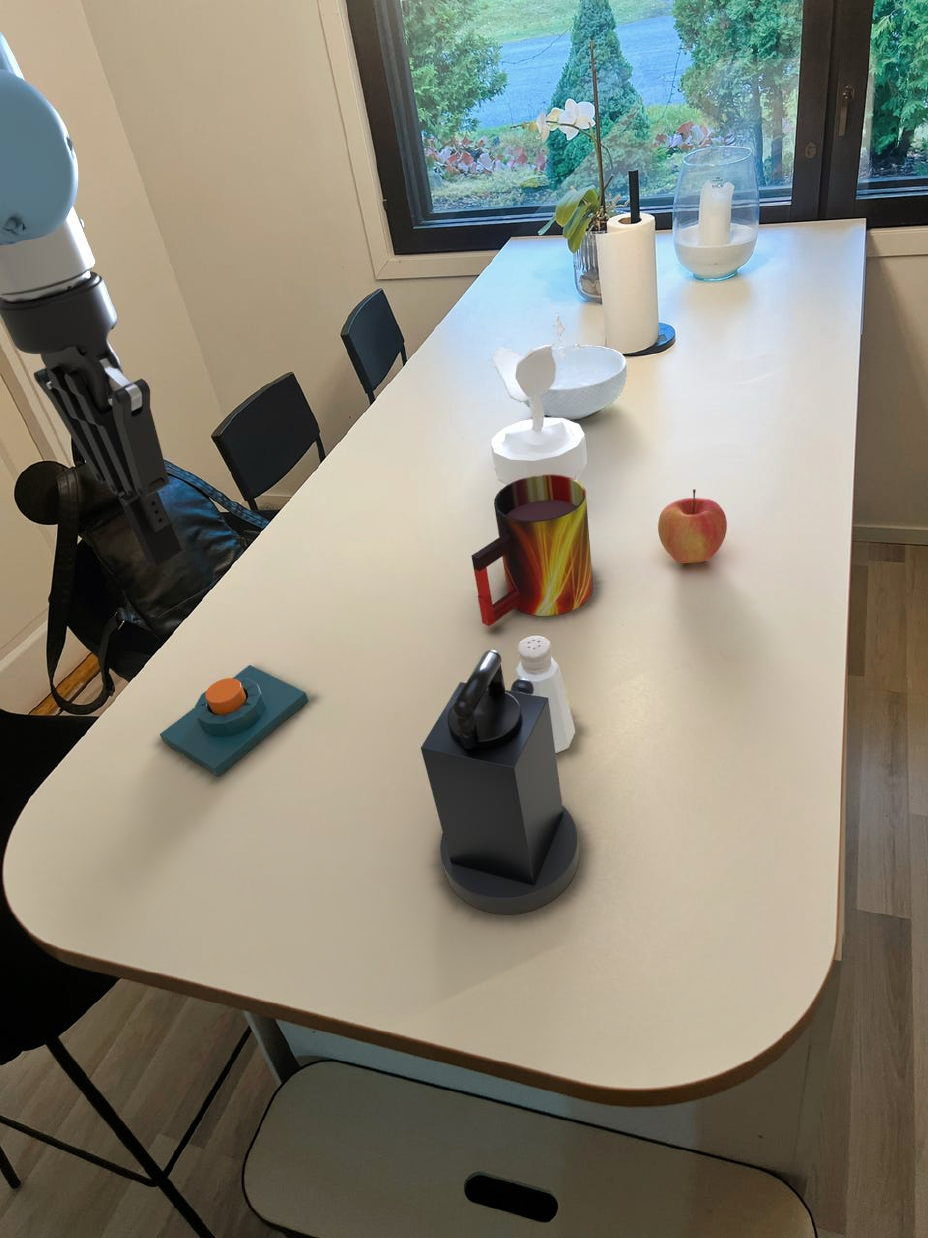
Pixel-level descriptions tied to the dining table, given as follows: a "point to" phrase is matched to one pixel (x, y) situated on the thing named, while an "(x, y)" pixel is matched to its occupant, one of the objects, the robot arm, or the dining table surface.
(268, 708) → the switch block
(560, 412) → the cereal bowl
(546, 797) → the kettle
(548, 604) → the mug
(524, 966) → the dining table surface
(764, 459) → the dining table surface
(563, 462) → the potted plant
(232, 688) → the power button
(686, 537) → the apple
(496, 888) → the kettle base
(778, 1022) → the dining table surface
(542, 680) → the salt shaker
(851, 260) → the dining table surface
